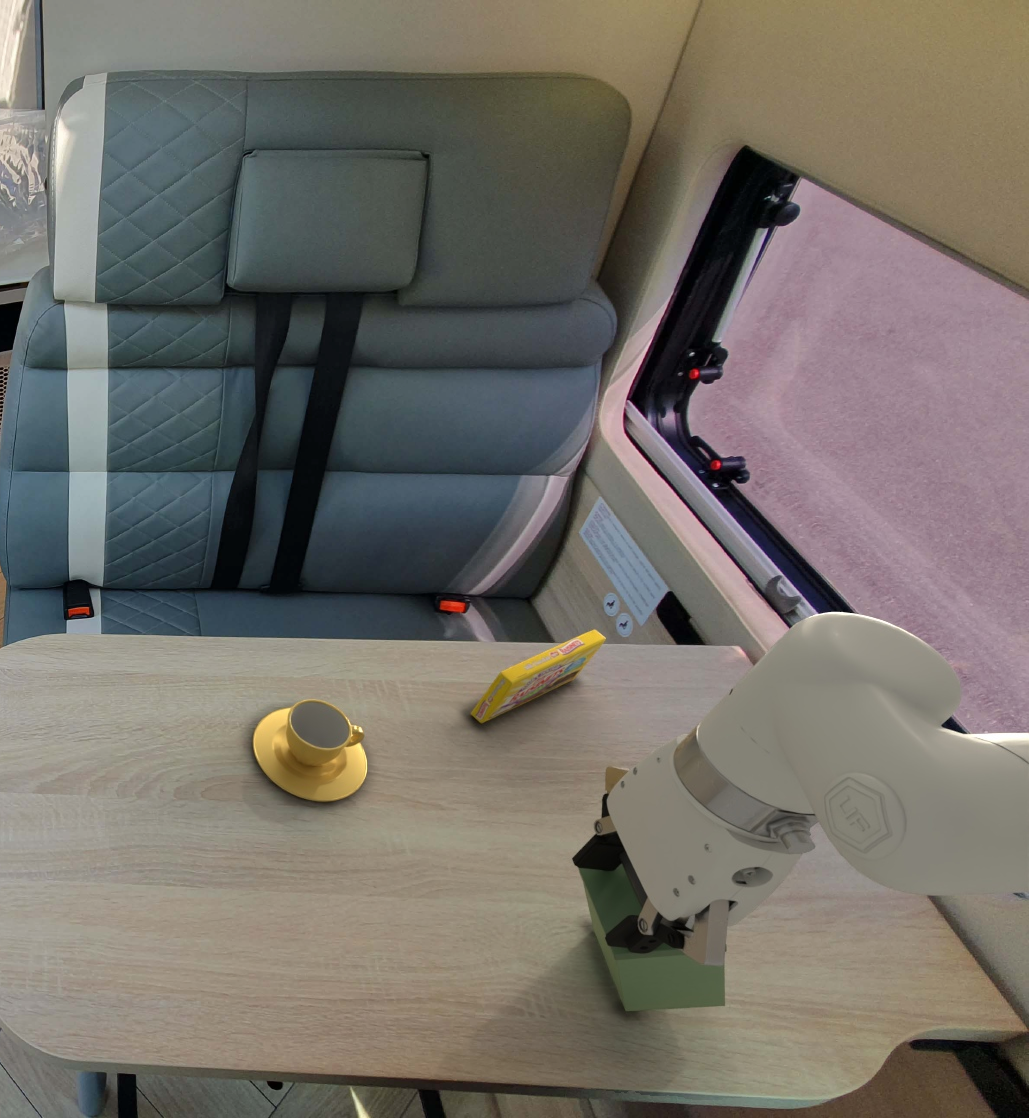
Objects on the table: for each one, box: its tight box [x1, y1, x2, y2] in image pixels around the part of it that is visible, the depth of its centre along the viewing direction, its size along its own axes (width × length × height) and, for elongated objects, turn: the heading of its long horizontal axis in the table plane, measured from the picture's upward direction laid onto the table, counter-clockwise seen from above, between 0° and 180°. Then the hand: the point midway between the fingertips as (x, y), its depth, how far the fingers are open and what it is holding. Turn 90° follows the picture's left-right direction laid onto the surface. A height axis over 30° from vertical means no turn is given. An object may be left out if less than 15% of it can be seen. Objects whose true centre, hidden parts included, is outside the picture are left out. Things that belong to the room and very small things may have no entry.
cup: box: [252, 698, 368, 802], centre depth 85 cm, size 12×12×5 cm
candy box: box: [470, 628, 607, 724], centre depth 91 cm, size 15×2×8 cm, turn 116°
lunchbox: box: [577, 851, 728, 1012], centre depth 65 cm, size 7×8×15 cm
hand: (609, 902), depth 64 cm, fingers closed on lunchbox, 5 cm apart
